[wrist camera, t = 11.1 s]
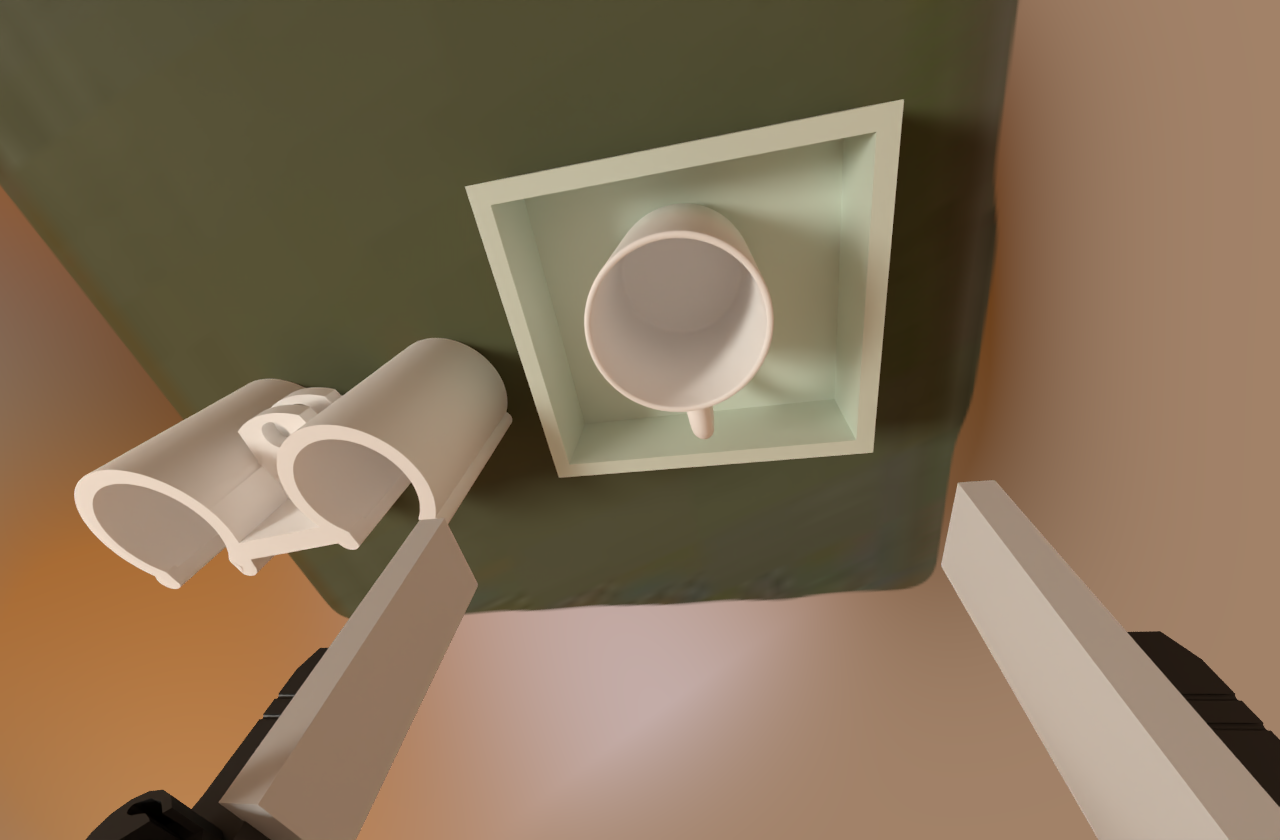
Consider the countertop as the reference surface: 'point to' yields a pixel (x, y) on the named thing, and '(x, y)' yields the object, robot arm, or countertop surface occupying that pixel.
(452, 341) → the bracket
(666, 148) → the tub
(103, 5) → the countertop surface
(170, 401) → the countertop surface
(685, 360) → the cup
